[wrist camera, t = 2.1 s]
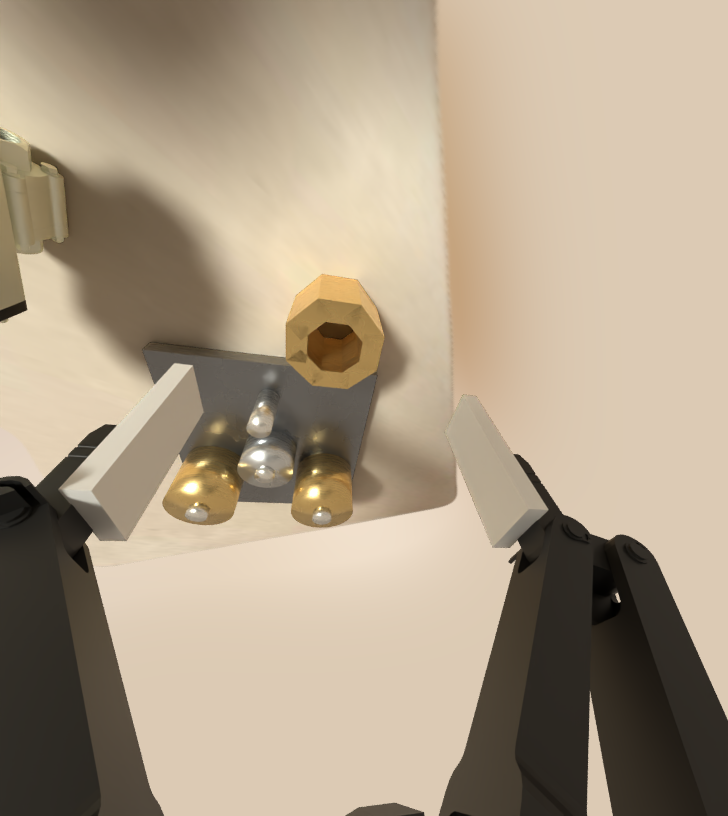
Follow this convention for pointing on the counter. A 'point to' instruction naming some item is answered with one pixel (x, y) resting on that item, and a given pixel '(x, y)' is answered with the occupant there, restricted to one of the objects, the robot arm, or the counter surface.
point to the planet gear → (328, 356)
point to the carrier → (264, 438)
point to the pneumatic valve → (25, 215)
